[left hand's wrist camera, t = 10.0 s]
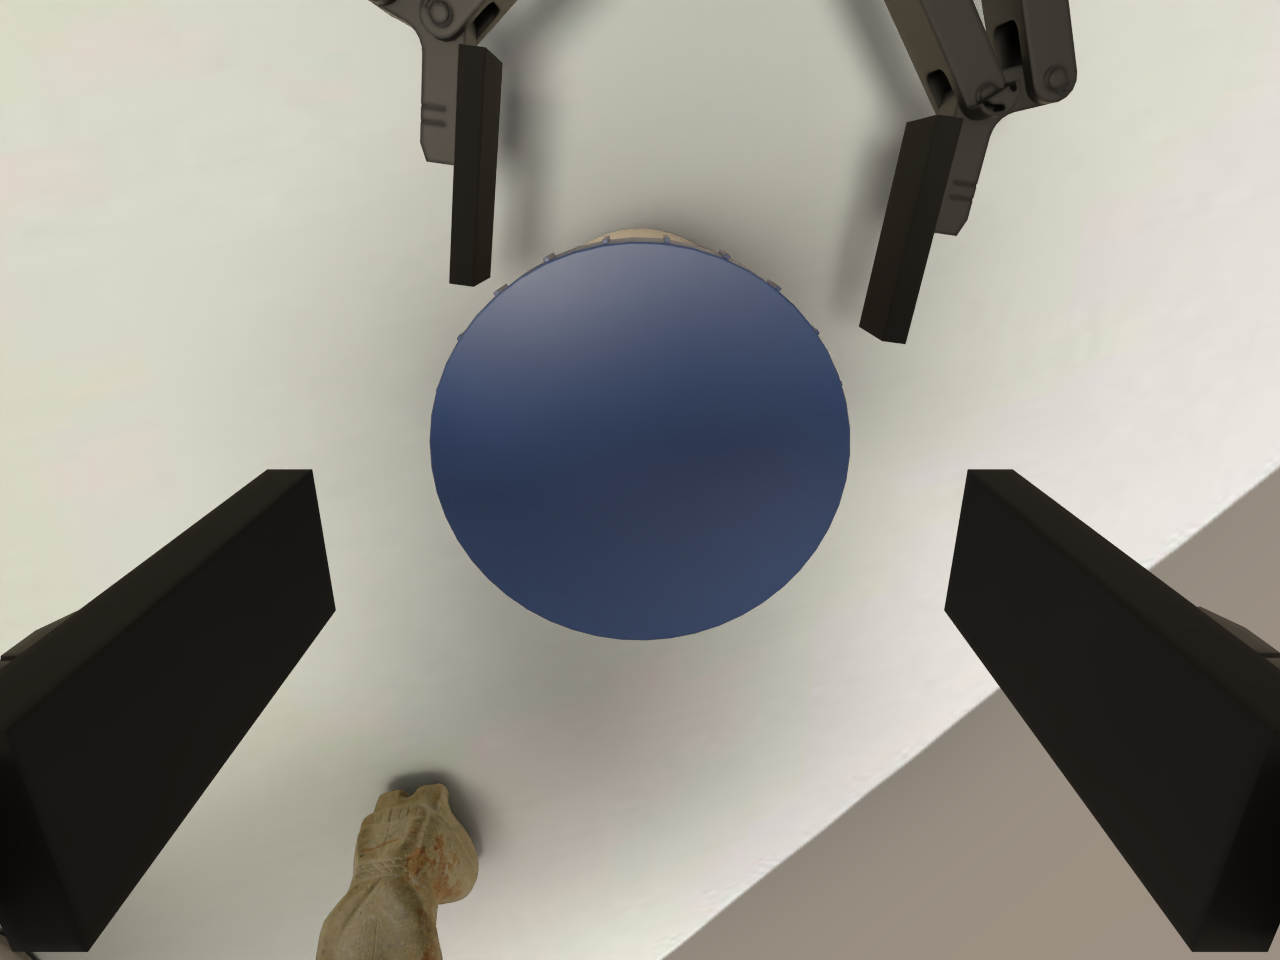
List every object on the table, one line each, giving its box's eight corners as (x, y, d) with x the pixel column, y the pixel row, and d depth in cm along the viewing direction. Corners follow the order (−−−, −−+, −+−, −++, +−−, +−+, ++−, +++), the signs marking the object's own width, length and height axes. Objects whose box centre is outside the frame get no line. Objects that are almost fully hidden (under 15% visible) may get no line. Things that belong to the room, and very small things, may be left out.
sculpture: (397, 875, 42) (277, 1212, 28) (359, 776, 40) (208, 1091, 26) (497, 862, 42) (426, 1197, 28) (466, 761, 40) (371, 1073, 26)
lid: (370, 340, 18) (342, 355, 16) (750, 157, 16) (762, 153, 15) (553, 655, 21) (546, 694, 19) (885, 524, 19) (907, 555, 18)
